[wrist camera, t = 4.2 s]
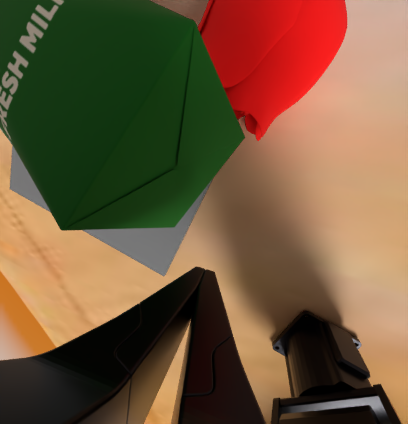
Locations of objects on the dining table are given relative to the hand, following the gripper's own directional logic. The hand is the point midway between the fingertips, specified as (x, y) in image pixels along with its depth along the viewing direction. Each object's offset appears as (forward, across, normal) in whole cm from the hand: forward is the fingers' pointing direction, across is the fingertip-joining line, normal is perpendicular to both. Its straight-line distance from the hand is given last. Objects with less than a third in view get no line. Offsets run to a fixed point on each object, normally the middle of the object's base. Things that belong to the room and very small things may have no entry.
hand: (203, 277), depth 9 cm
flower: (+12, 0, -11) cm, 16 cm away
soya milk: (+1, +2, -4) cm, 5 cm away
